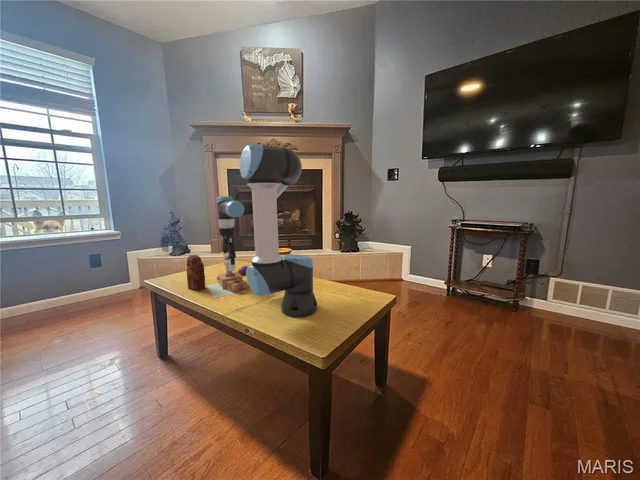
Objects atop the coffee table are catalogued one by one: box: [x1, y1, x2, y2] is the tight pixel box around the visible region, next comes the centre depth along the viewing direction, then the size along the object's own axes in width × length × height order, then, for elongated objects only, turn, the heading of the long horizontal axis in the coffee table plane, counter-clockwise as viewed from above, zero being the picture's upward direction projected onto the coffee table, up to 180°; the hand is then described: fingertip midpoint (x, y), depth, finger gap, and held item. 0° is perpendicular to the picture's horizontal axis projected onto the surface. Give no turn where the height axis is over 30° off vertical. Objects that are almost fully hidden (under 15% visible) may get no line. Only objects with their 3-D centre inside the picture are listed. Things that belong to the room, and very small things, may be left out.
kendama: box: [216, 265, 249, 282], centre depth 150 cm, size 6×6×20 cm
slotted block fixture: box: [206, 271, 248, 299], centre depth 131 cm, size 20×16×6 cm
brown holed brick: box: [227, 279, 248, 294], centre depth 129 cm, size 7×7×4 cm
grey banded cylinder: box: [224, 254, 233, 277], centre depth 135 cm, size 3×3×16 cm
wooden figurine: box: [186, 254, 206, 292], centre depth 131 cm, size 12×6×18 cm, turn 56°
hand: (229, 267), depth 135 cm, fingers open, 13 cm apart
